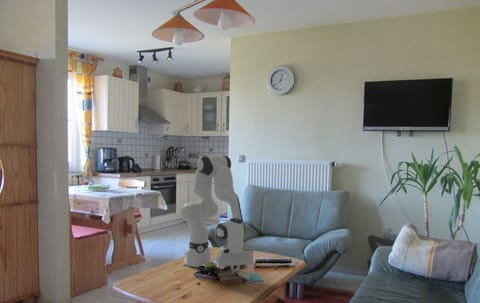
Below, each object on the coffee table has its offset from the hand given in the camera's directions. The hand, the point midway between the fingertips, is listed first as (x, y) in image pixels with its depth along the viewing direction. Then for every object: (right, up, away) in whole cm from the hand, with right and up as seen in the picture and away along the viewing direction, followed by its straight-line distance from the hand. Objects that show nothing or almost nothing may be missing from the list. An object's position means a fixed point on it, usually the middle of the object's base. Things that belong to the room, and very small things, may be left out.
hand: (235, 273), depth 209 cm
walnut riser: (-3, -4, 0) cm, 5 cm away
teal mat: (+9, -4, +3) cm, 11 cm away
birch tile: (+4, -2, +1) cm, 4 cm away
